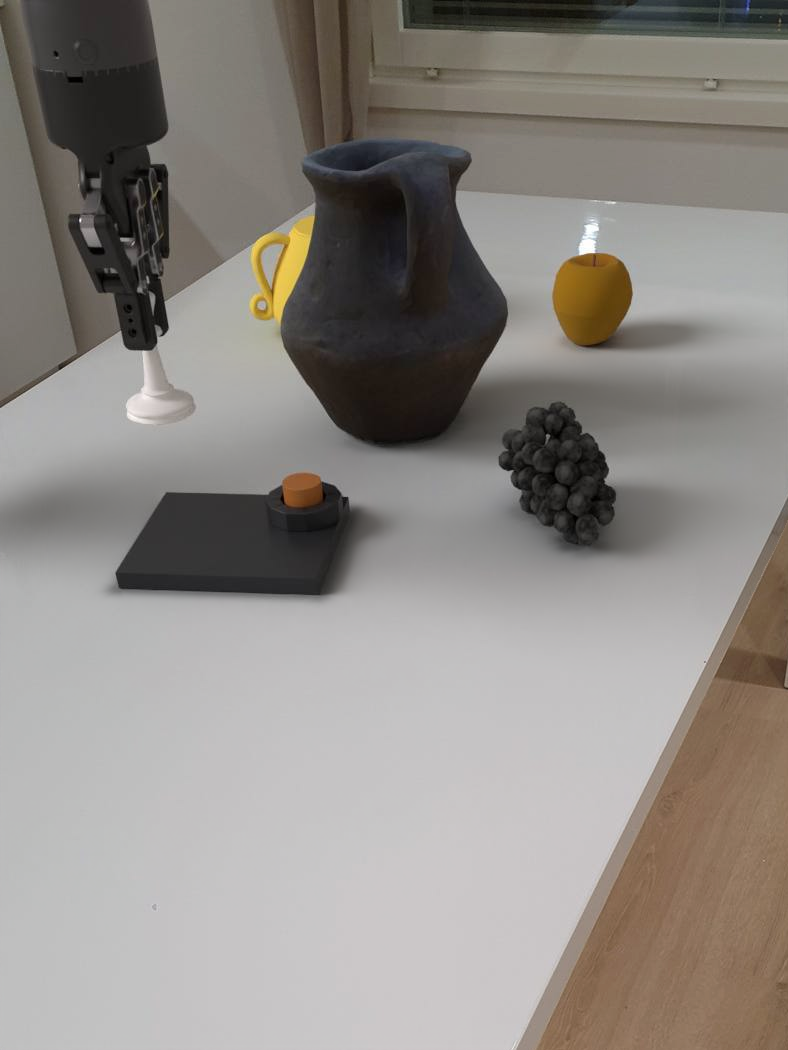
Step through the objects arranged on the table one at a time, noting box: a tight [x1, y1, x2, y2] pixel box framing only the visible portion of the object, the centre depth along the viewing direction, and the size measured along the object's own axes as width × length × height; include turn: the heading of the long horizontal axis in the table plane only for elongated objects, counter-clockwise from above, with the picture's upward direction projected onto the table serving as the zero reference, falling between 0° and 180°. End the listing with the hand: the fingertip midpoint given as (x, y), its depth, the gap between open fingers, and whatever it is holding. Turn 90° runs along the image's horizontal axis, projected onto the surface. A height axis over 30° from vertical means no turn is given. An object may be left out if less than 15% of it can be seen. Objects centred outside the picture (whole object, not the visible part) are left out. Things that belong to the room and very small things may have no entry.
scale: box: [114, 480, 351, 595], centre depth 105 cm, size 16×14×3 cm
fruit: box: [497, 401, 617, 547], centre depth 105 cm, size 9×8×15 cm
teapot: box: [249, 214, 315, 327], centre depth 141 cm, size 20×19×13 cm
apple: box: [551, 252, 634, 346], centre depth 136 cm, size 8×8×9 cm
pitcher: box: [280, 137, 509, 444], centre depth 115 cm, size 21×22×25 cm
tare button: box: [281, 472, 323, 507], centre depth 105 cm, size 3×3×2 cm
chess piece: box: [125, 276, 197, 426], centre depth 89 cm, size 5×5×10 cm
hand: (147, 340), depth 89 cm, fingers closed on chess piece
